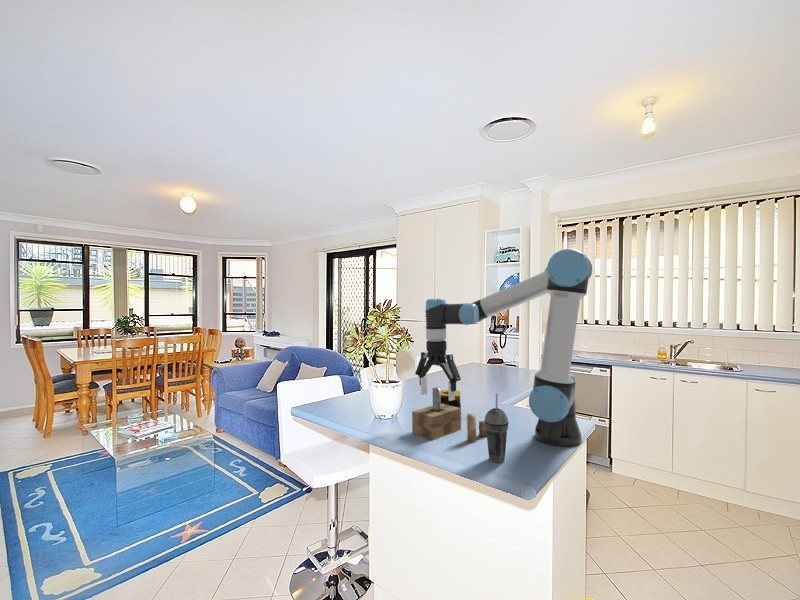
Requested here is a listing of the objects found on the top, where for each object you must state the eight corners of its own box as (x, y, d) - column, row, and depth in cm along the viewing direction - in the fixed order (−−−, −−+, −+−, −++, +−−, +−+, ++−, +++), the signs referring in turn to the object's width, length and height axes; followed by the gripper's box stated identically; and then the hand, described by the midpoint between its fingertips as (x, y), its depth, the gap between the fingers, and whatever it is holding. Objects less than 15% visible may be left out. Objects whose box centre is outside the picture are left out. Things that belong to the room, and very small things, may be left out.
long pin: (442, 431, 144) (442, 388, 145) (437, 433, 142) (436, 389, 142) (436, 429, 147) (436, 387, 147) (431, 431, 145) (430, 388, 145)
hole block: (460, 429, 146) (460, 408, 146) (432, 440, 135) (432, 417, 135) (440, 423, 154) (440, 403, 154) (412, 433, 143) (412, 411, 143)
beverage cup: (482, 462, 116) (482, 396, 116) (486, 453, 123) (485, 390, 123) (508, 466, 113) (507, 398, 113) (510, 457, 120) (509, 392, 120)
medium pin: (477, 440, 134) (477, 414, 134) (472, 443, 132) (472, 416, 132) (470, 438, 136) (470, 413, 136) (465, 440, 134) (465, 414, 134)
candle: (460, 420, 157) (460, 396, 157) (435, 419, 159) (435, 395, 159) (461, 413, 167) (461, 390, 167) (438, 412, 169) (437, 389, 169)
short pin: (489, 435, 139) (489, 421, 139) (484, 438, 137) (484, 423, 137) (482, 433, 141) (482, 420, 141) (477, 435, 139) (477, 421, 139)
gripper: (469, 341, 138) (471, 400, 138) (419, 337, 156) (420, 390, 156) (456, 342, 133) (458, 404, 133) (405, 339, 151) (406, 393, 151)
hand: (437, 397), depth 144 cm, fingers open, 13 cm apart
